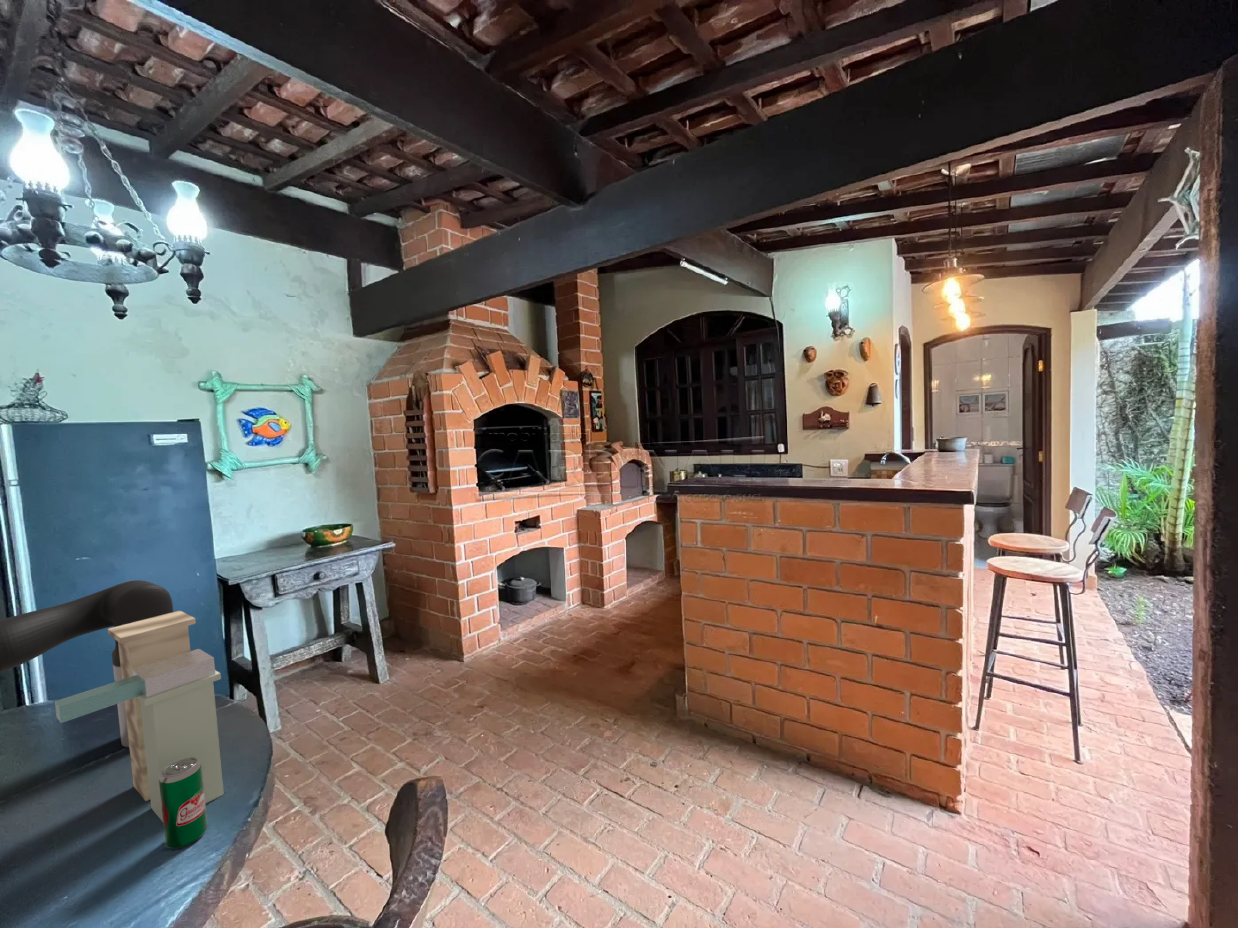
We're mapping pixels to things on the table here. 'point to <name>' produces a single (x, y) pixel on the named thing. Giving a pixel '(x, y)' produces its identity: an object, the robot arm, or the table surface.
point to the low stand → (182, 735)
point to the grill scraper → (139, 684)
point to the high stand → (143, 648)
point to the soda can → (183, 802)
